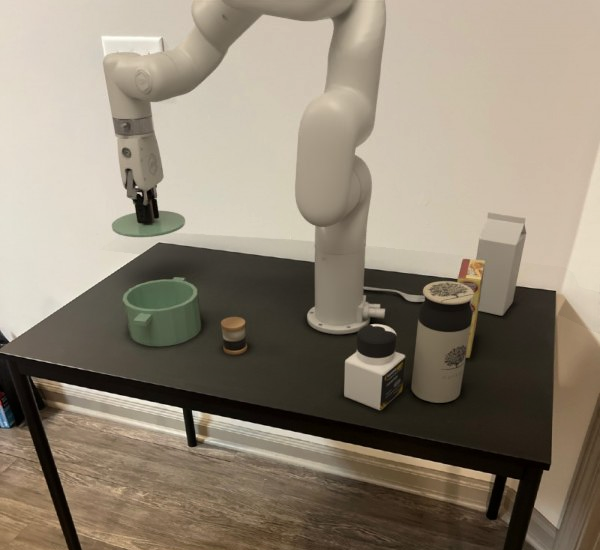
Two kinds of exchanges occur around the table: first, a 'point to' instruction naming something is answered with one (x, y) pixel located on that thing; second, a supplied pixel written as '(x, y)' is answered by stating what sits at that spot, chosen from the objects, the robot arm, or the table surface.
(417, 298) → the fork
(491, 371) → the table surface
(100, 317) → the table surface
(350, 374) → the medicine bottle
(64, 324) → the table surface
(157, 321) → the pot
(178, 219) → the pot lid
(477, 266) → the candy box
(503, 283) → the milk carton
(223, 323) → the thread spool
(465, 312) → the travel mug
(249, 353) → the table surface
